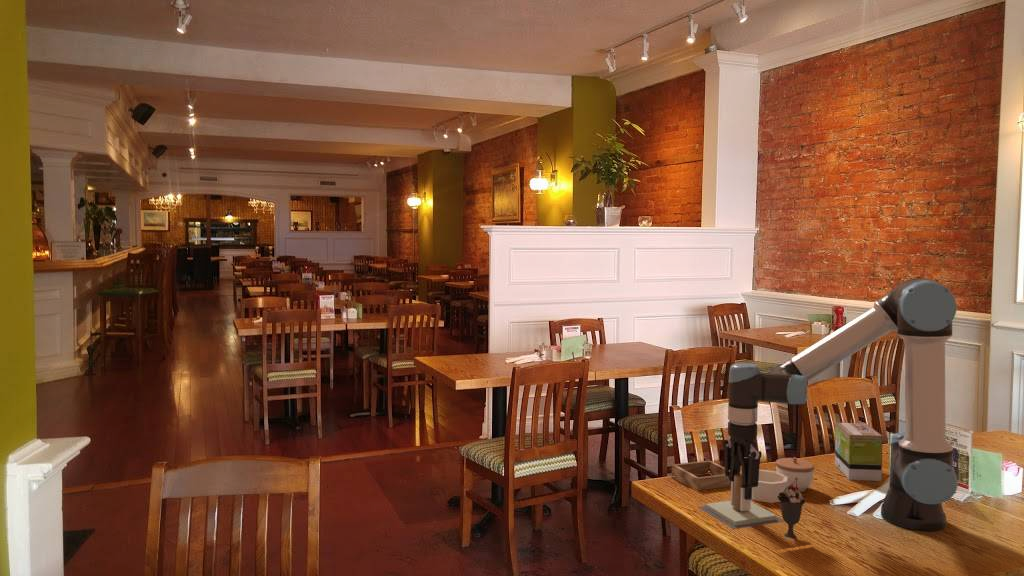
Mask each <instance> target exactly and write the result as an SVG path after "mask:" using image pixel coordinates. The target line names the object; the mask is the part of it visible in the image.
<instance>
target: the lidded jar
mask: <svg viewBox="0 0 1024 576" xmlns="http://www.w3.org/2000/svg"><path fill="white" fill-rule="evenodd" d="M814 470H815V464H814V463H813V462H811V461H809V460H805V459H801V458H797V457H795V456H794V457H783V458H778V459H776V461H775V472H778V473H780V474H783V475H785V476H787V477H788V486H789V485H790V484H791V485H792V484H793V483H794V482H795V483H794V484H793V486H794V487H798V488H799V490H798V491H799V492H800V493H801V492H802V493H803V492H805V491H806V490H807V489H808V487H810V486H811V484H812V482H813V479H814V474H815V473H814ZM795 478H798V479H797V486H796V481H795Z"/></svg>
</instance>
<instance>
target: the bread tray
mask: <svg viewBox="0 0 1024 576" xmlns="http://www.w3.org/2000/svg"><path fill="white" fill-rule="evenodd" d="M708 471H710V472H709V473H711V474H712V475H713V476H712V475H707V476H698V475H697V474H704V475H706V474H705V473H708ZM729 471H730V470H729ZM695 475H696V476H695ZM672 476H675V477H672ZM671 479H673V480H676V481H677V482H679V483H681V484H683V485H685V486H686V487H688V488H689V489H694V490H696V491H702V490H703V491H704V490H709V489H717V488H725V487H726V488H727V487H730V480H729V477H728V476H726V475H725V466H722V465H720V464H718V463H716V462H715V461H712V460H701V461H694V462H693V461H691V462H684V463H673V464H671Z"/></svg>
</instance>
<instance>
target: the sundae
mask: <svg viewBox="0 0 1024 576" xmlns="http://www.w3.org/2000/svg"><path fill="white" fill-rule="evenodd" d="M797 479H798V478H795V481H796V486H797ZM794 483H795V482H794ZM794 483H793V484H794ZM793 484H792V485H791V484H790V485H789V486H788V487H787V488H785V490H784V491H783V492H781V493H779V496H778V499H779V500H780V502H779V503H780V507H781V508H780V509H781V516H782V520H784V522H785V523H786V524H787V525H788V526H787V527H788V528H787V529H788V530H787V532H786V533H784V537H786V538H788V539H797V537H798V536H797V535H796V534H795V533H794V526H795V525H796V524H798V523H799V521H800V520H801V516H802V511H803V505H804V504H805V503H806V501H807V499H806V498H804V497H803V494H802V493H801V492H799V491H798V490H799V488H798V487H794V486H793Z"/></svg>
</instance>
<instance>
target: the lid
mask: <svg viewBox="0 0 1024 576" xmlns="http://www.w3.org/2000/svg"><path fill="white" fill-rule="evenodd" d="M747 483H748V482H747ZM741 485H743V478H742V473H740V474H735V475H734V502H733V506H732V505H730V501H731V500H725V501H718V502H710V503H709V502H708V503H705V506H706V509H708V510H709V511H711V512H713V513H714V514H716V515H718V516H719V517H721V518H722V519H724V520H726V521H727V522H729V523H731V524H732V525H734V526H738V525H745V524H752V523H758V522H765V521H771V520H776V517H777V515H776V514H775V513H772V512H771V511H769V510H768V509H765V508H764V507H762V506H760V505H759V504H756V503H755V502H753V501H751V510H749V511H740V500H741Z"/></svg>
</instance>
